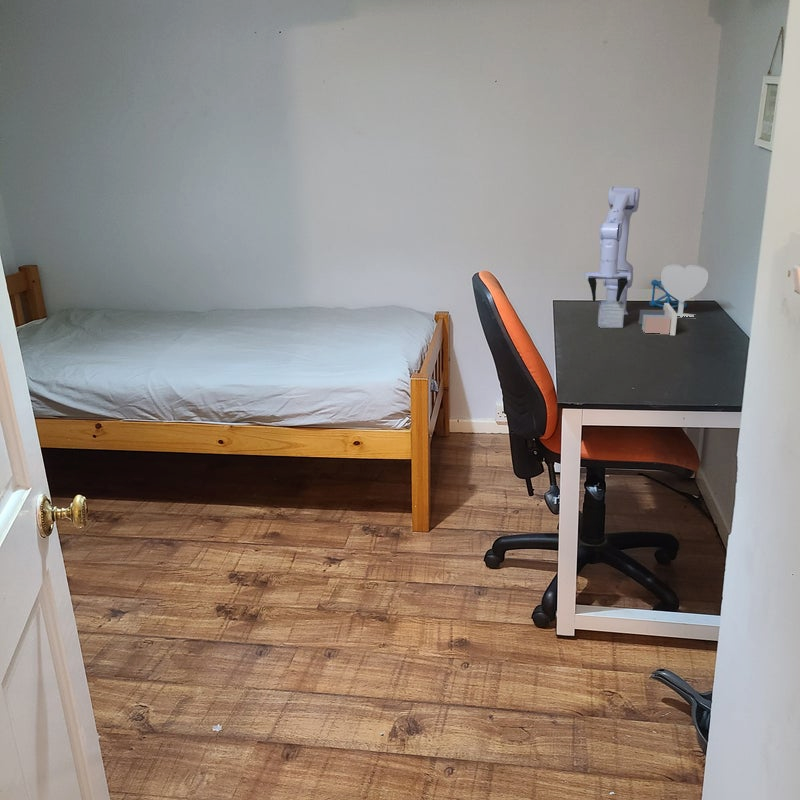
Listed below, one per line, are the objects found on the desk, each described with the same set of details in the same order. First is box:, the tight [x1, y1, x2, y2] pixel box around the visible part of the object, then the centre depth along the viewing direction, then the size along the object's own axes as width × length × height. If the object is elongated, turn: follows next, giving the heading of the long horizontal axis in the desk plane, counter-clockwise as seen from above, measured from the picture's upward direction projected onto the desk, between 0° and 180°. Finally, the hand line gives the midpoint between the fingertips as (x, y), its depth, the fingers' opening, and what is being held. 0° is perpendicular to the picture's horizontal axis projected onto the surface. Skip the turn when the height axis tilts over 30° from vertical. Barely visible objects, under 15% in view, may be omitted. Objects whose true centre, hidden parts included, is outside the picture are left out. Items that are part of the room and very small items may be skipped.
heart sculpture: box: [660, 263, 709, 318], centre depth 283 cm, size 16×5×18 cm, turn 73°
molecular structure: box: [648, 279, 688, 309], centre depth 296 cm, size 10×10×10 cm
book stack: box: [637, 302, 678, 336], centre depth 269 cm, size 17×10×7 cm, turn 172°
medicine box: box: [597, 299, 625, 329], centre depth 272 cm, size 8×4×9 cm, turn 84°
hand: (605, 300), depth 267 cm, fingers open, 7 cm apart
